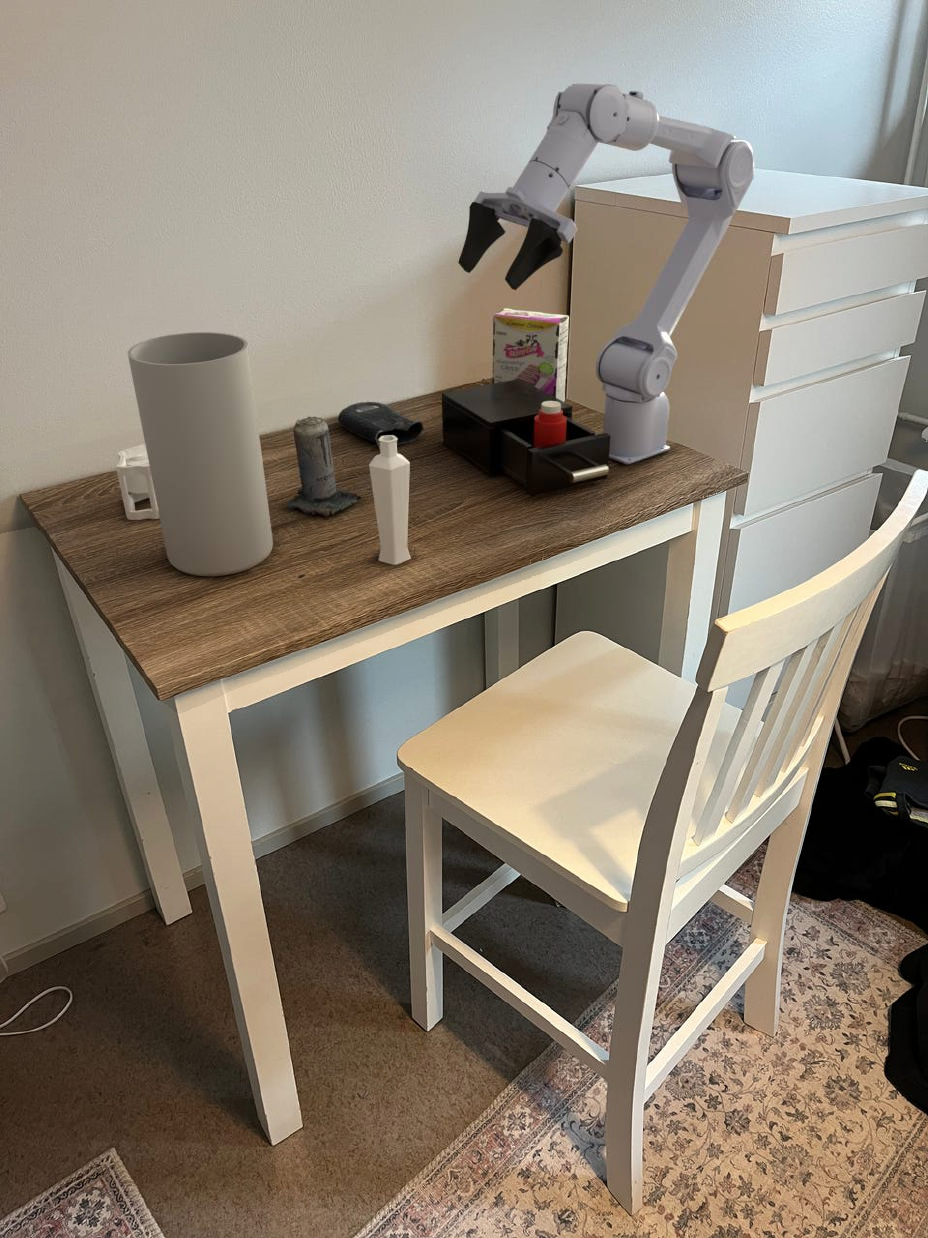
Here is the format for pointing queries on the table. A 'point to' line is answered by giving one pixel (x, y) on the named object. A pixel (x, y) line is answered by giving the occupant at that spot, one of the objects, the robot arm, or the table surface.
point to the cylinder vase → (203, 450)
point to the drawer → (551, 457)
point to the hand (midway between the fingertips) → (486, 276)
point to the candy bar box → (531, 349)
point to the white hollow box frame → (136, 482)
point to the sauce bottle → (549, 425)
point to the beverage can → (317, 470)
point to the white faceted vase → (391, 500)
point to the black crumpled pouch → (379, 422)
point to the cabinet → (488, 418)
